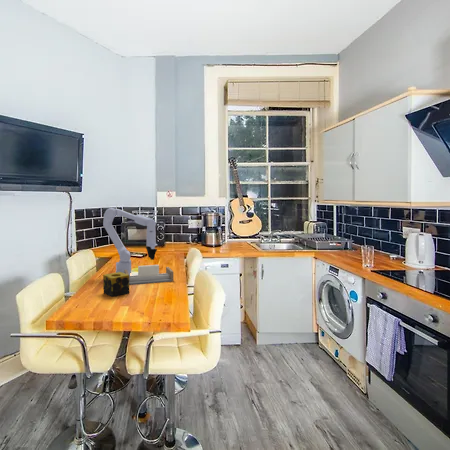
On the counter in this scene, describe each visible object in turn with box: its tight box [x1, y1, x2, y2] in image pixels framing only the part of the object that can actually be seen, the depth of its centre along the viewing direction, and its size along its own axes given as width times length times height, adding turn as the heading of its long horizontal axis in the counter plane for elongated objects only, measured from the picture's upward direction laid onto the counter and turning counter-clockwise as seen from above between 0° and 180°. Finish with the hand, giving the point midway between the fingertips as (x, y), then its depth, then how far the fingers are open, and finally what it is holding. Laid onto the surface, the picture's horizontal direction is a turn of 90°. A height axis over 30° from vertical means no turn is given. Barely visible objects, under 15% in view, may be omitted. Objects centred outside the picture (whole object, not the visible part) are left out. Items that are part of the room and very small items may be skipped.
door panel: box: [137, 264, 160, 277], centre depth 203 cm, size 12×2×8 cm, turn 112°
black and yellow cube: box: [102, 271, 130, 298], centre depth 176 cm, size 10×10×10 cm
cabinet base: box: [124, 266, 174, 286], centre depth 203 cm, size 27×14×6 cm, turn 112°
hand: (151, 258), depth 218 cm, fingers open, 7 cm apart
